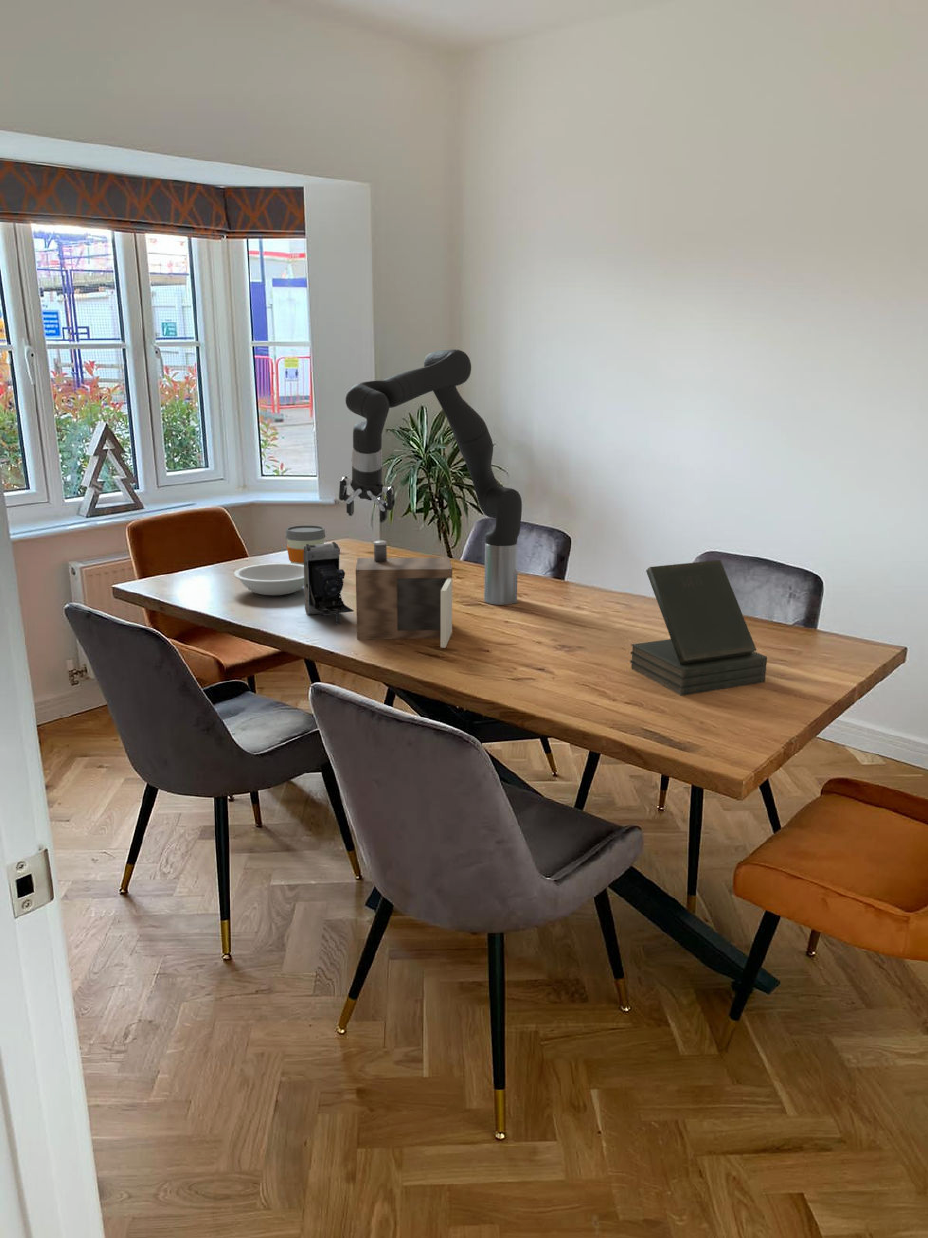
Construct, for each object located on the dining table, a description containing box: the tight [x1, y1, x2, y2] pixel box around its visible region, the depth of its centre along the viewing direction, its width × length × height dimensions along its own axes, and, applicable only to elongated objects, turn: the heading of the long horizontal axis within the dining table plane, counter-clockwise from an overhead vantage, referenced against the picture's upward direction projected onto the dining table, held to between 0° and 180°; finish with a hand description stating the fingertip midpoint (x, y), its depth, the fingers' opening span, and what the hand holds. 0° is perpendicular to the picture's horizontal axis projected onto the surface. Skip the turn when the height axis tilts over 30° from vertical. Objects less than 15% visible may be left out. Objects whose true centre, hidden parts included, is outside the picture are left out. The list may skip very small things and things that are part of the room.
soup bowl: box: [233, 562, 304, 596], centre depth 287 cm, size 24×24×7 cm
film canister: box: [373, 540, 388, 562], centre depth 247 cm, size 3×3×5 cm
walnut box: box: [355, 556, 453, 640], centre depth 248 cm, size 24×14×18 cm, turn 94°
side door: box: [440, 576, 453, 649], centre depth 235 cm, size 14×1×14 cm, turn 174°
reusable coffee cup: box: [285, 524, 326, 565], centre depth 309 cm, size 13×13×15 cm
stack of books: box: [629, 559, 768, 697], centre depth 215 cm, size 23×20×25 cm
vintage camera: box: [303, 541, 355, 625], centre depth 259 cm, size 10×16×20 cm, turn 28°
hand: (366, 517), depth 250 cm, fingers open, 8 cm apart
